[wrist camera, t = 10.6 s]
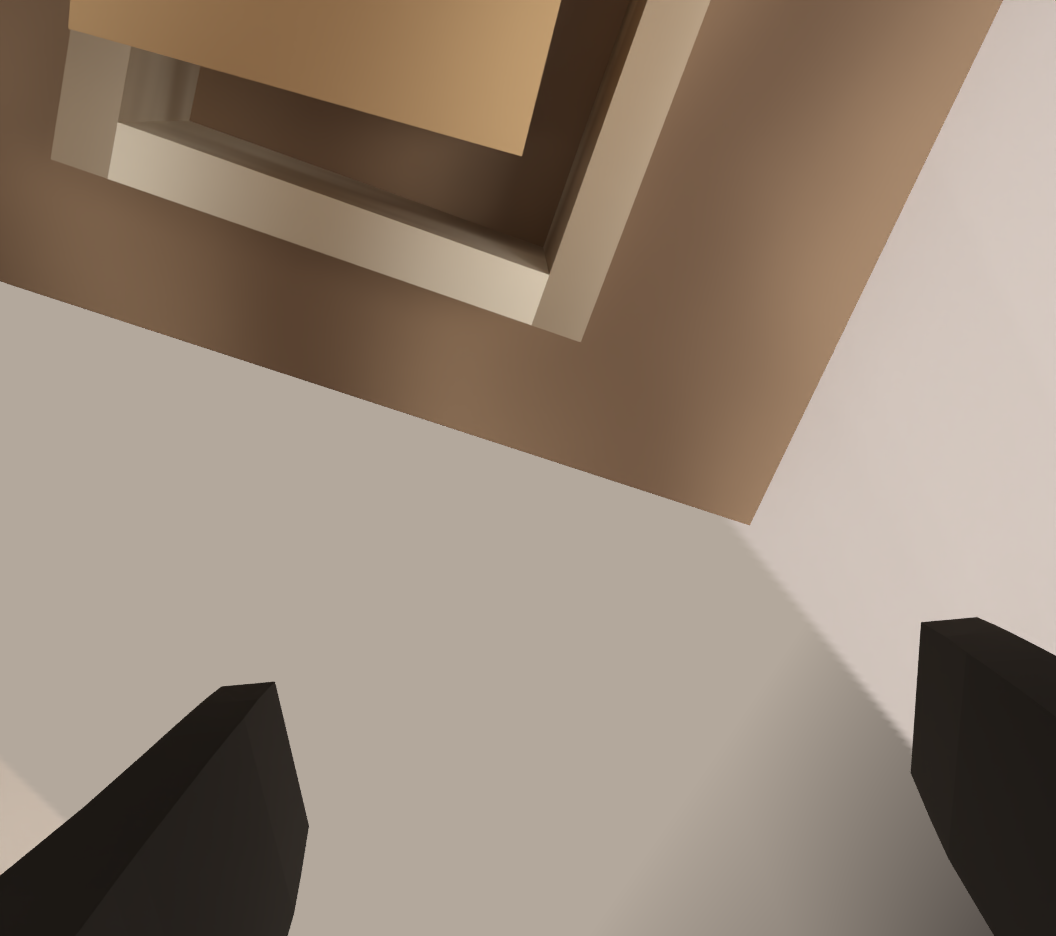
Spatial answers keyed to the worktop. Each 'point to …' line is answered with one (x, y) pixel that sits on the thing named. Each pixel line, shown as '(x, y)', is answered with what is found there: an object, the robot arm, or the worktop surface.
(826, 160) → the walnut board
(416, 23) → the oak peg
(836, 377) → the worktop surface
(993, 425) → the worktop surface
